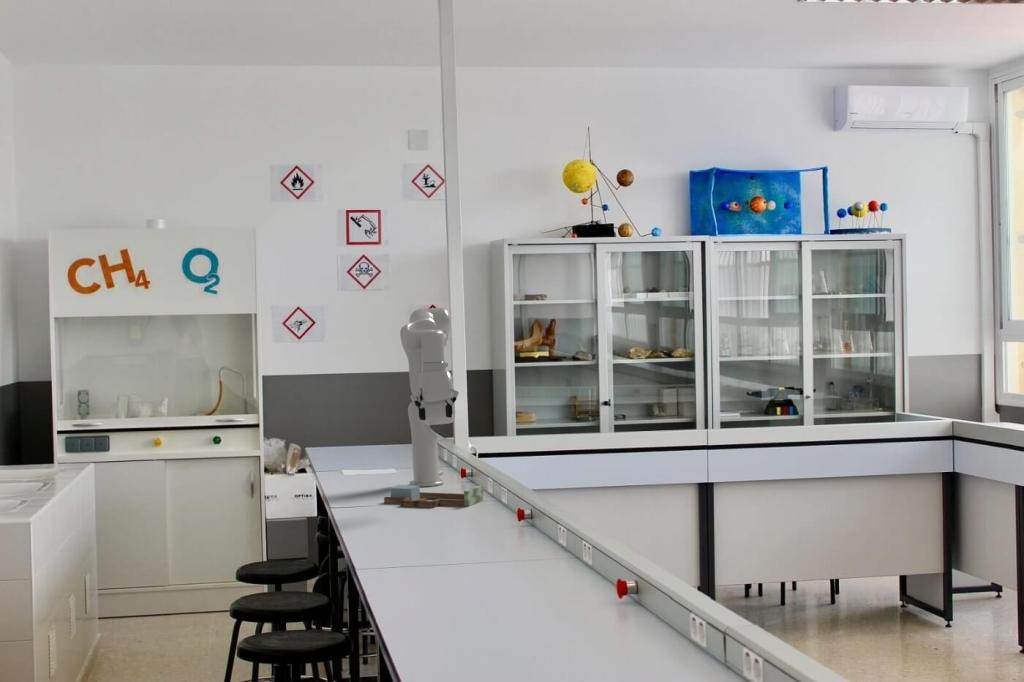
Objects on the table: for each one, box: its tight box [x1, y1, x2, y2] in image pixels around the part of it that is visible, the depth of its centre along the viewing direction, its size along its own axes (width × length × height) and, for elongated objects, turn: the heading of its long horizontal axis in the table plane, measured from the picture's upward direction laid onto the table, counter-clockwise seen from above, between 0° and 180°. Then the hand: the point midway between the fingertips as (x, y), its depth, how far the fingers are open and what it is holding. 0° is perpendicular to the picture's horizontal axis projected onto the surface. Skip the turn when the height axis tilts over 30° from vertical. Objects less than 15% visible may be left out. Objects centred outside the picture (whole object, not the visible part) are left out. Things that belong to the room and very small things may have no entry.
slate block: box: [390, 484, 421, 500], centre depth 377 cm, size 6×8×5 cm
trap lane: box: [383, 485, 485, 509], centre depth 370 cm, size 16×32×5 cm, turn 66°
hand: (435, 418), depth 369 cm, fingers open, 9 cm apart
